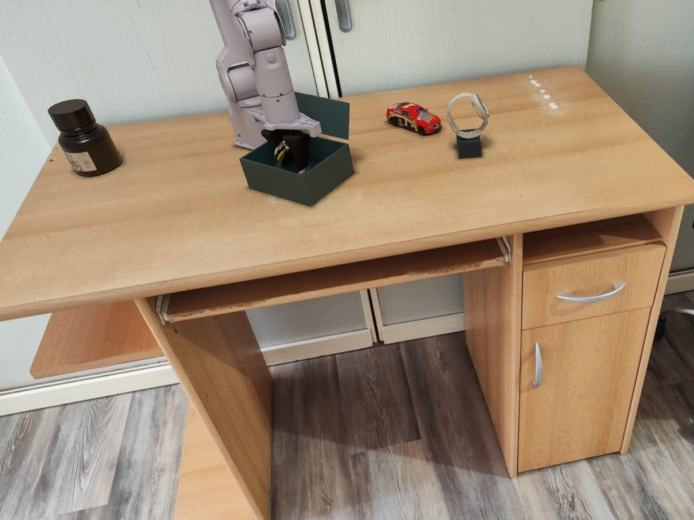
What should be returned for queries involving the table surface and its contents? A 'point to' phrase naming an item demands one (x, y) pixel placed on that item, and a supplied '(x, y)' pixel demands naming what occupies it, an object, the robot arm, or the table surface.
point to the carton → (286, 183)
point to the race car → (413, 117)
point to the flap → (326, 114)
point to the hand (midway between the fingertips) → (296, 166)
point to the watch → (469, 137)
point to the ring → (280, 156)
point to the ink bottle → (84, 138)
